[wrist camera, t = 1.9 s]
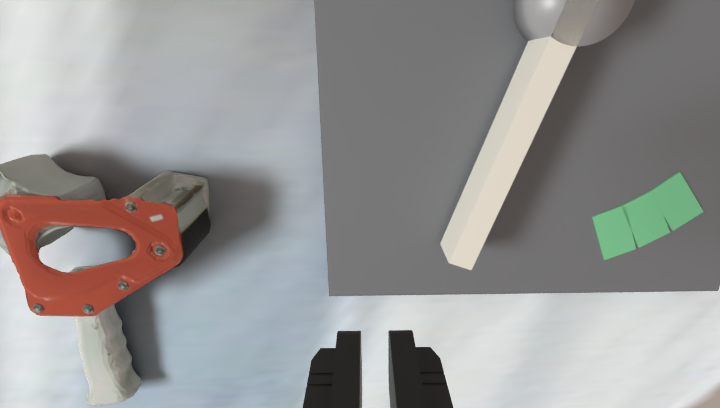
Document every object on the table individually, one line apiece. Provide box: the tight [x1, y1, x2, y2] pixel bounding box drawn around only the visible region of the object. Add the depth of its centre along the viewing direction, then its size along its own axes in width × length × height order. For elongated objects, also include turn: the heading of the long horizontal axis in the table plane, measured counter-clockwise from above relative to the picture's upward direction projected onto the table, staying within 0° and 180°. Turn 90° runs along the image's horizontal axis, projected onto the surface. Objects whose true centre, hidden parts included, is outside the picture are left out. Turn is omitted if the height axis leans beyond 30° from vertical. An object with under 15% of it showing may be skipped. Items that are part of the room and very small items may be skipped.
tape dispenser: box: [0, 154, 210, 405], centre depth 29 cm, size 18×5×20 cm
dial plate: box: [314, 0, 720, 296], centre depth 27 cm, size 22×28×2 cm
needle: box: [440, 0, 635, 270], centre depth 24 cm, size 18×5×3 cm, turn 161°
